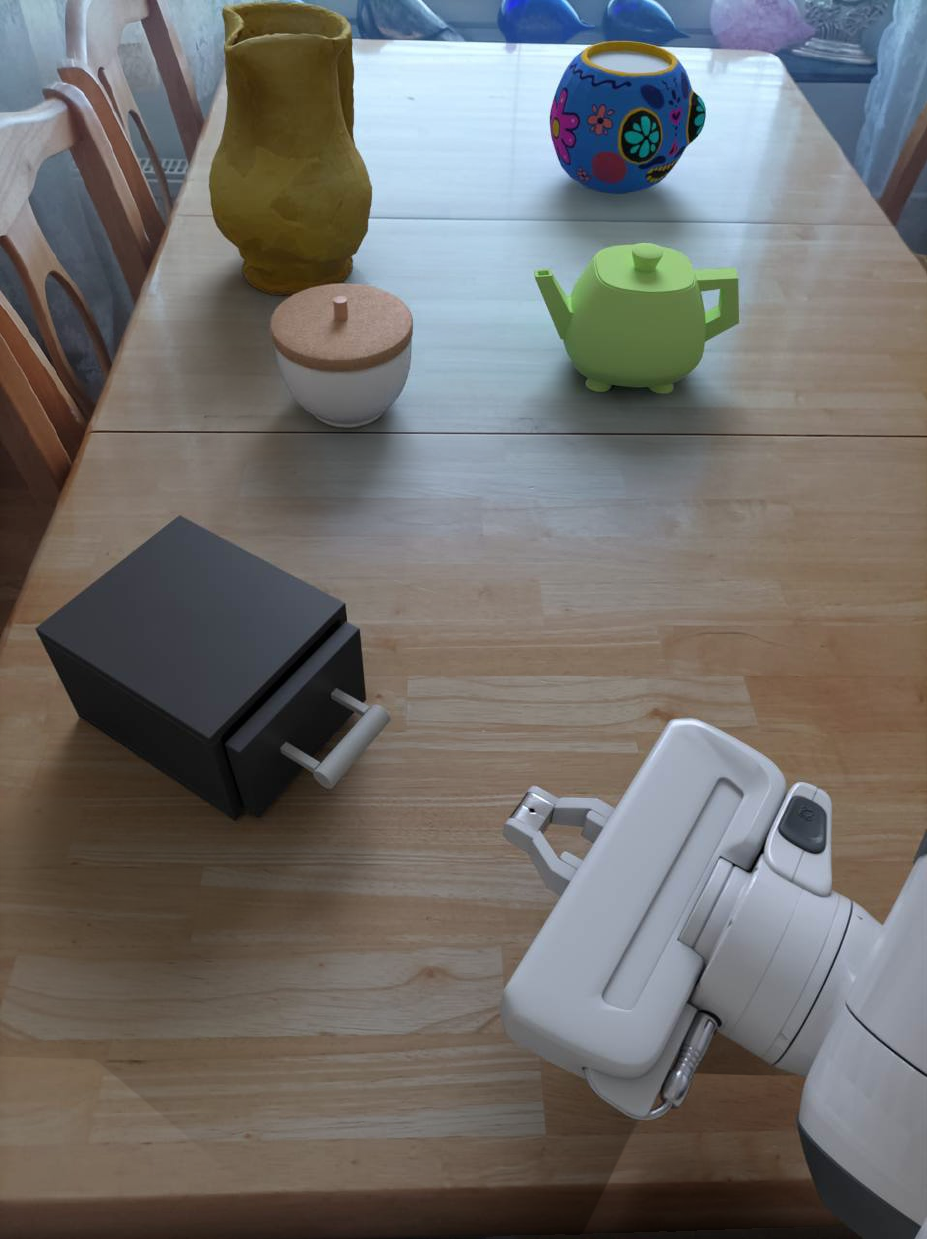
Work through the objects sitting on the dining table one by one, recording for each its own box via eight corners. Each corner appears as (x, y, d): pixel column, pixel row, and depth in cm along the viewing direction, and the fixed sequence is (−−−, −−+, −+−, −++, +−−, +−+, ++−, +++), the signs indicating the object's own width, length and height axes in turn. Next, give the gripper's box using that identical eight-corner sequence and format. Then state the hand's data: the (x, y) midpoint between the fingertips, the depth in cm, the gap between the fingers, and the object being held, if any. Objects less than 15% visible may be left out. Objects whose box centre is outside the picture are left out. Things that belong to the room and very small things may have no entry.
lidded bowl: (434, 384, 92) (435, 280, 84) (379, 460, 84) (374, 354, 76) (320, 354, 95) (309, 251, 86) (257, 425, 87) (238, 319, 79)
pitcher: (191, 250, 107) (156, -2, 88) (336, 219, 115) (332, -19, 96) (256, 324, 98) (233, 62, 79) (408, 286, 106) (420, 38, 87)
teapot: (528, 404, 90) (539, 283, 81) (524, 327, 99) (534, 210, 90) (734, 410, 90) (770, 290, 81) (712, 333, 99) (742, 217, 90)
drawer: (416, 727, 64) (414, 657, 58) (310, 854, 58) (296, 789, 52) (223, 617, 70) (204, 543, 65) (108, 721, 64) (75, 650, 58)
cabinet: (355, 691, 67) (345, 602, 60) (235, 821, 60) (209, 739, 53) (205, 606, 72) (179, 514, 65) (78, 717, 65) (34, 628, 58)
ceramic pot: (616, 230, 114) (636, 98, 102) (516, 178, 122) (524, 50, 111) (708, 190, 121) (736, 62, 110) (608, 144, 130) (625, 21, 118)
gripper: (652, 1158, 43) (408, 990, 48) (803, 827, 55) (594, 718, 59) (680, 1125, 38) (406, 942, 43) (839, 770, 50) (608, 656, 55)
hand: (516, 810), depth 51 cm, fingers closed
